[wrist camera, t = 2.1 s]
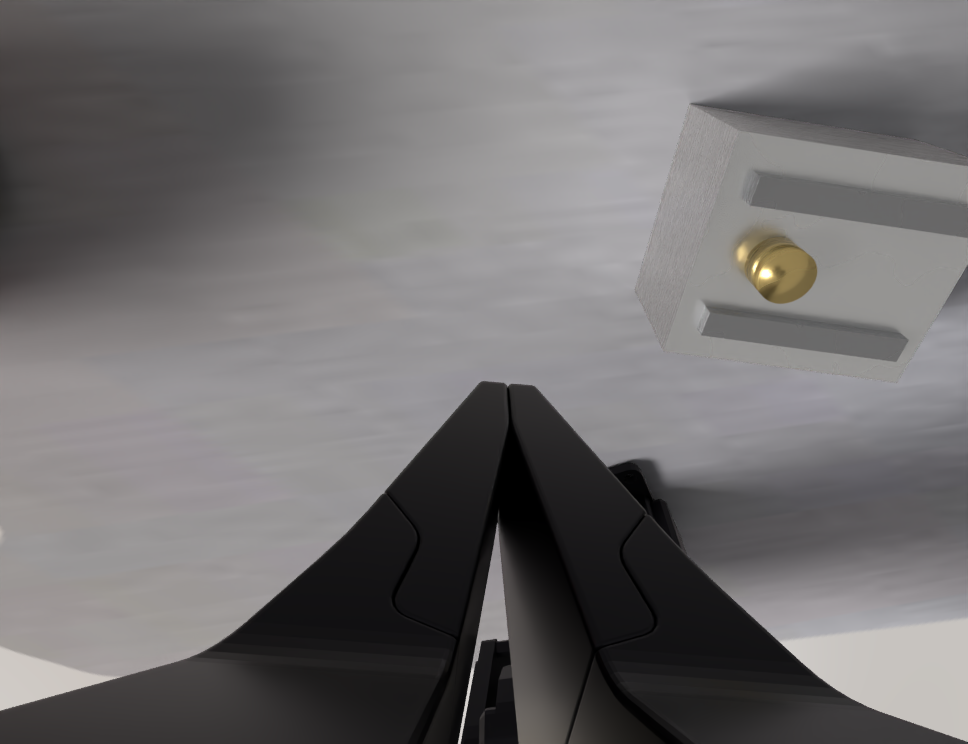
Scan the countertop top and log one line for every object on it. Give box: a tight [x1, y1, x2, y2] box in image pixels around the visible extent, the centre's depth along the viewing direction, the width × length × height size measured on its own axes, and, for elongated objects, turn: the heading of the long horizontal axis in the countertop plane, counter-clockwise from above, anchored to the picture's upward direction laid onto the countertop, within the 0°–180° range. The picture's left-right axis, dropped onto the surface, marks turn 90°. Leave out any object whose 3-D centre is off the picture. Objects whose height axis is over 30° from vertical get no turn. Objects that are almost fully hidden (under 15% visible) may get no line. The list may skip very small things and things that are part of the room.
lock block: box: [634, 104, 968, 383], centre depth 17 cm, size 7×6×6 cm
